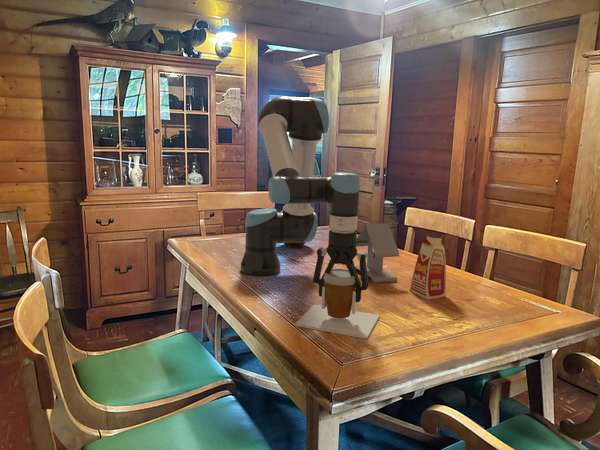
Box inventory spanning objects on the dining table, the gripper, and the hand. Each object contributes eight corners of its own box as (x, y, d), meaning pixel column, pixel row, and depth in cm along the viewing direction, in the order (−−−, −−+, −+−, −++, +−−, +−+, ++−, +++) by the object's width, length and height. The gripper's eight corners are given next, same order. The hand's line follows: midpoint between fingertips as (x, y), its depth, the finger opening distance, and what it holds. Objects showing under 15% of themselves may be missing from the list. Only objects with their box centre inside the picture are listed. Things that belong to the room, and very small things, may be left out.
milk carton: (427, 299, 149) (432, 239, 145) (408, 290, 157) (412, 233, 153) (448, 296, 153) (453, 237, 150) (428, 287, 161) (433, 231, 158)
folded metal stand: (397, 282, 166) (401, 228, 163) (373, 284, 164) (376, 229, 160) (374, 268, 184) (377, 218, 180) (352, 269, 181) (355, 219, 177)
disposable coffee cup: (354, 322, 124) (357, 279, 121) (319, 319, 125) (321, 276, 123) (356, 309, 133) (358, 269, 130) (324, 306, 134) (325, 267, 132)
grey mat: (294, 325, 125) (295, 323, 125) (314, 306, 140) (314, 304, 140) (367, 339, 119) (367, 336, 118) (379, 317, 133) (379, 315, 133)
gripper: (301, 228, 125) (299, 308, 129) (378, 237, 117) (372, 321, 122) (311, 224, 131) (308, 300, 136) (383, 231, 124) (378, 311, 129)
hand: (338, 309), depth 129 cm, fingers closed on disposable coffee cup, 8 cm apart
